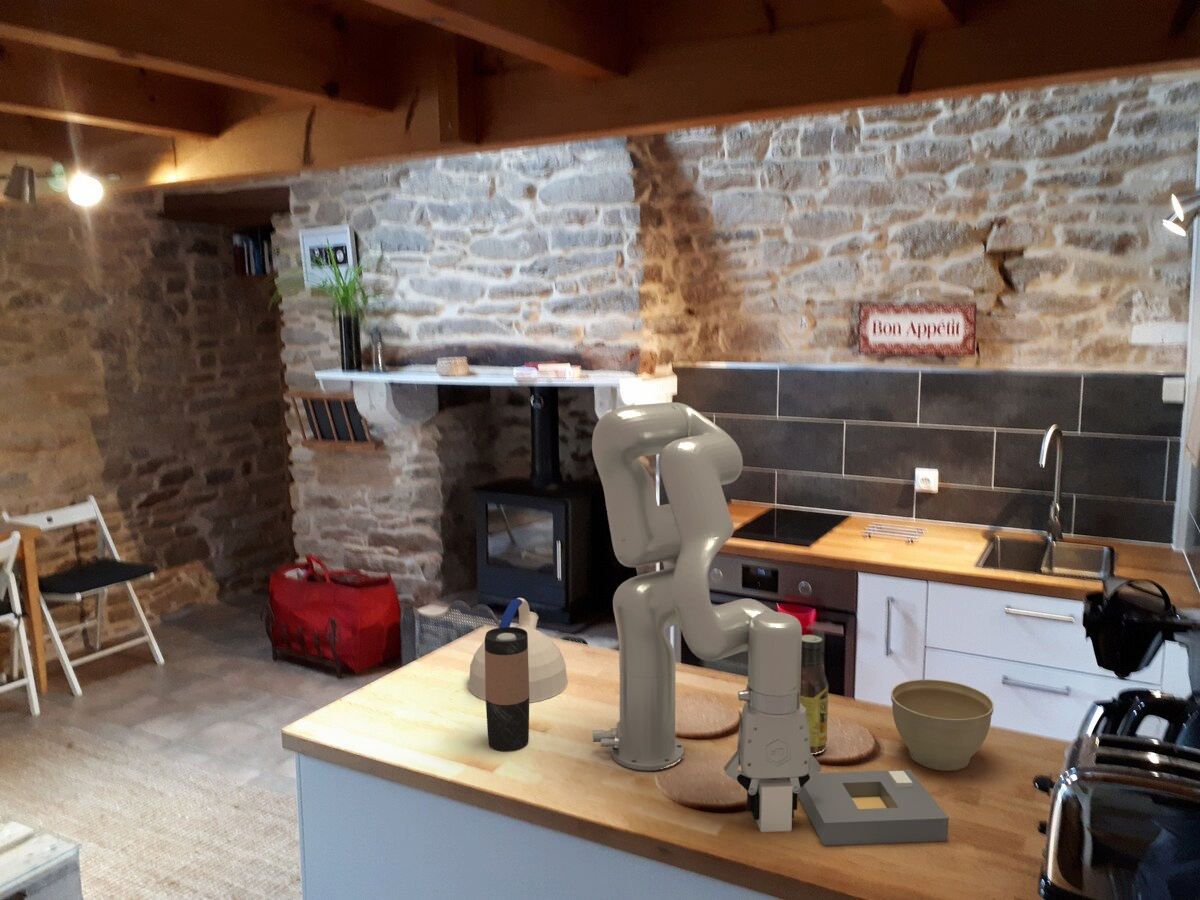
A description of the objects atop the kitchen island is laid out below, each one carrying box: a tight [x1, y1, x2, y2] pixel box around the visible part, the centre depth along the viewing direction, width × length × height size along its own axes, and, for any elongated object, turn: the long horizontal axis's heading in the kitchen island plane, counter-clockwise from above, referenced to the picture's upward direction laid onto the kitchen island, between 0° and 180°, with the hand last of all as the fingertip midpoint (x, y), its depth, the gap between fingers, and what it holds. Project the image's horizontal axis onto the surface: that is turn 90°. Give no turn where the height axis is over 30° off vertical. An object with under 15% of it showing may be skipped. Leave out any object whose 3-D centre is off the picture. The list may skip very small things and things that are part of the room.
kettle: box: [468, 597, 569, 704], centre depth 187 cm, size 20×21×18 cm
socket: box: [797, 769, 950, 847], centre depth 138 cm, size 18×14×4 cm
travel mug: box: [484, 626, 530, 753], centre depth 161 cm, size 8×8×20 cm
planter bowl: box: [890, 678, 994, 772], centre depth 155 cm, size 16×16×11 cm
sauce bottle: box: [800, 634, 829, 753], centre depth 158 cm, size 6×6×20 cm
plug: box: [755, 778, 793, 833], centre depth 137 cm, size 4×6×9 cm
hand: (771, 813), depth 137 cm, fingers closed on plug, 4 cm apart
